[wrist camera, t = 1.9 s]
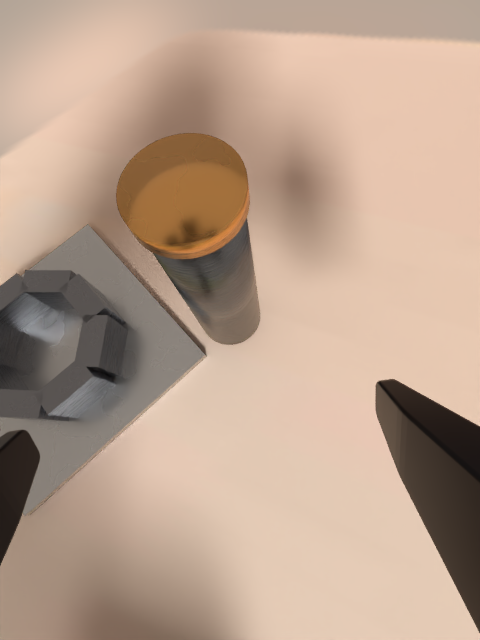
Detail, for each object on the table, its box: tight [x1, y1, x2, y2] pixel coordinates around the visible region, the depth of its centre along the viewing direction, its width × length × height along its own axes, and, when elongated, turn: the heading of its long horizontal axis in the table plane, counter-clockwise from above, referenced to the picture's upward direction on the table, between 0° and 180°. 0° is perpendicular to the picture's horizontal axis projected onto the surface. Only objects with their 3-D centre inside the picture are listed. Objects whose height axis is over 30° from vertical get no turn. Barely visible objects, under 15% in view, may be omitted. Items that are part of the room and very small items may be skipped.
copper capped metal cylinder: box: [116, 133, 260, 345], centre depth 18 cm, size 4×4×13 cm
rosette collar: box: [0, 224, 207, 516], centre depth 23 cm, size 14×14×4 cm
